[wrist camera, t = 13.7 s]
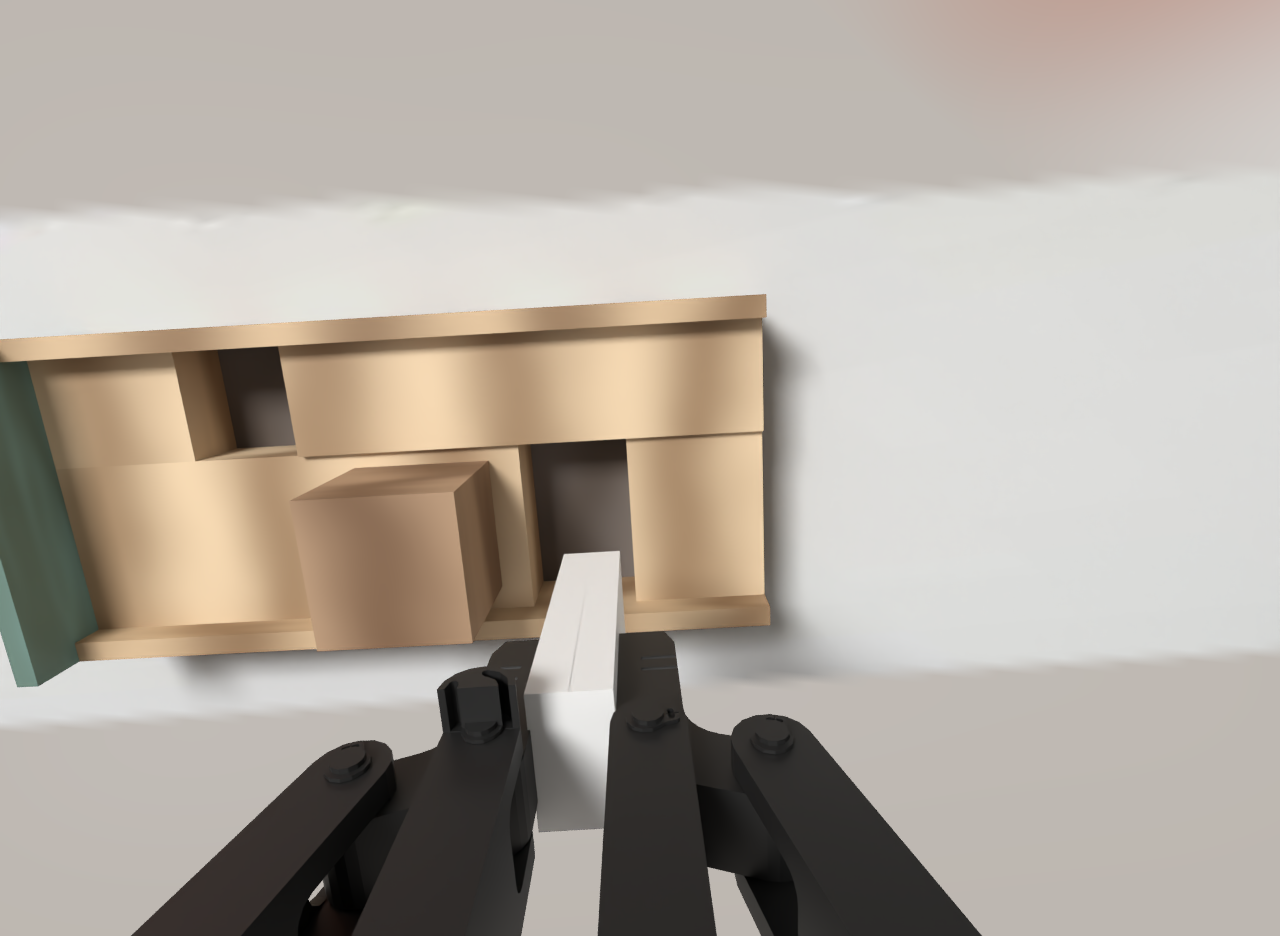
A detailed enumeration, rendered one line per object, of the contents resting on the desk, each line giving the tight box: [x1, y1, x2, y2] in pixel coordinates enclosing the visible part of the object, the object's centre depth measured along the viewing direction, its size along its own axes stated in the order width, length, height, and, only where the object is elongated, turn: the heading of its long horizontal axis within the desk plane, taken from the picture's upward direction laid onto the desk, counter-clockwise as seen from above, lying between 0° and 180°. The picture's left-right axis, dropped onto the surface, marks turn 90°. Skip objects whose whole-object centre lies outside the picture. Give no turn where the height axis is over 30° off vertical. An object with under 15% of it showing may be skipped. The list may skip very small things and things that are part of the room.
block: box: [289, 461, 502, 651], centre depth 22 cm, size 5×5×4 cm
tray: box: [0, 294, 770, 687], centre depth 24 cm, size 27×12×6 cm, turn 93°
